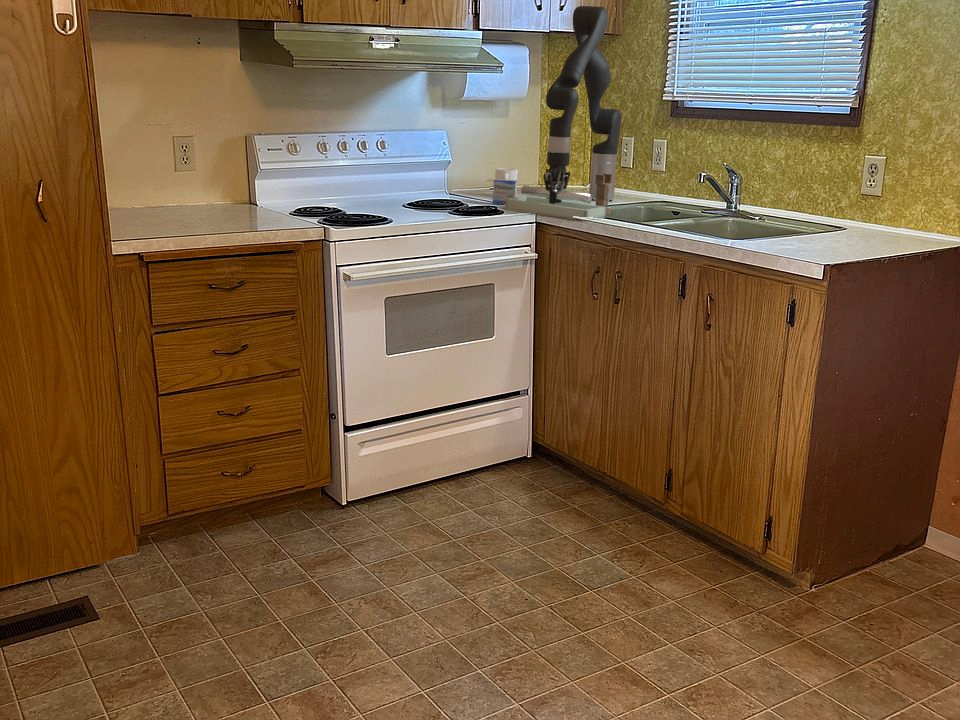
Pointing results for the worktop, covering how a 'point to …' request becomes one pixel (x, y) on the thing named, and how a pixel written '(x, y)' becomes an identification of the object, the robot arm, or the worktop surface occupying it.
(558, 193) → the rail
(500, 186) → the medicine box
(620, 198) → the worktop surface
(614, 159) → the robot arm
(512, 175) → the mug
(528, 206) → the tray
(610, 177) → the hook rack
